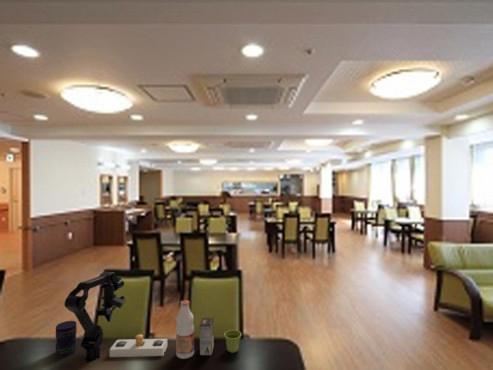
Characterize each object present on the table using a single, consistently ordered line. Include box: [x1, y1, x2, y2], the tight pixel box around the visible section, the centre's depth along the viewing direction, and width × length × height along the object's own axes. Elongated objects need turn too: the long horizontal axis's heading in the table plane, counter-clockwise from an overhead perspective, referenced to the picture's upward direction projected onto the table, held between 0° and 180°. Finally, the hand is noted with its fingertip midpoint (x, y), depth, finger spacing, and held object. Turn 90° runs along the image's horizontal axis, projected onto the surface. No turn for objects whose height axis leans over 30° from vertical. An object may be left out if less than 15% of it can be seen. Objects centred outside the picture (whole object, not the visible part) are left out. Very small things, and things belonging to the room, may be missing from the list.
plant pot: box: [224, 329, 242, 353], centre depth 164 cm, size 9×9×9 cm
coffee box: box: [199, 317, 215, 356], centre depth 163 cm, size 9×6×16 cm
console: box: [109, 338, 168, 358], centre depth 163 cm, size 28×10×4 cm, turn 92°
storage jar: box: [55, 320, 78, 358], centre depth 163 cm, size 10×10×15 cm
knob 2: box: [154, 340, 162, 346], centre depth 163 cm, size 4×4×3 cm
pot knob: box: [135, 334, 144, 346], centre depth 163 cm, size 4×4×5 cm
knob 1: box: [117, 341, 125, 347], centre depth 163 cm, size 4×4×3 cm
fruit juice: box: [175, 299, 195, 360], centre depth 160 cm, size 9×9×28 cm
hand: (108, 321), depth 170 cm, fingers closed
